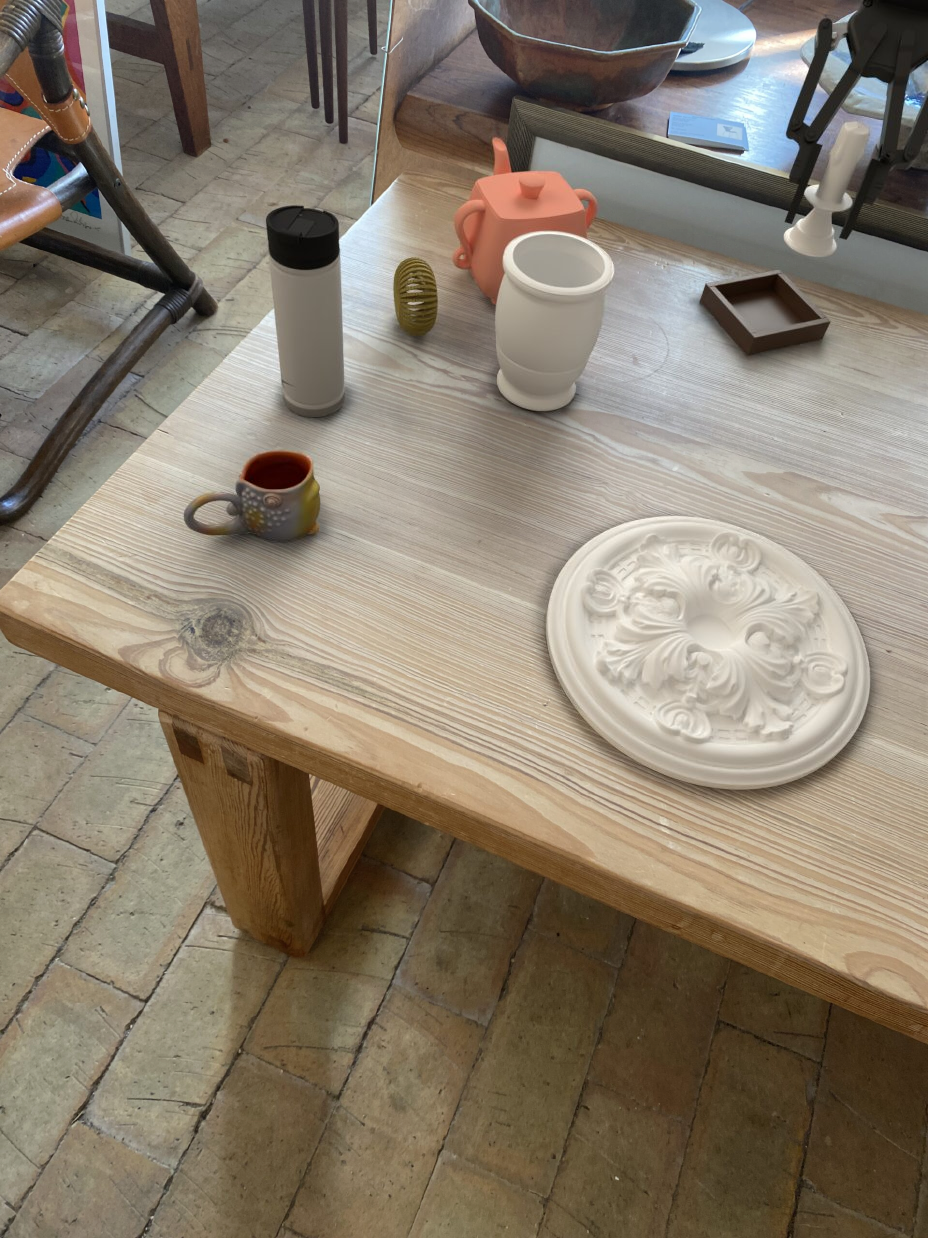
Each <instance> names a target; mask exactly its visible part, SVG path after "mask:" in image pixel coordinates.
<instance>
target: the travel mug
mask: <svg viewBox="0 0 928 1238" xmlns="http://www.w3.org/2000/svg"><path fill="white" fill-rule="evenodd" d="M265 226H266V237H267V242H268V243H267V245H268V249H267V251H268V252H267V253H268V263H269V272H270V281H271V291H272V301H273V303H272V304H273V312H274V322H275V332H276V341H277V342H276V343H277V352H278V360H279V372H280V380H281V390H282V391H281V392H282V399H283V402H284V404H285V406H286V407H287V408H288V409H289V410H290V411H292V412H293V413H295V414H297V415H299V416H303V417H307V418H320V417H321V418H322V417H326V416H329V415H332V414H334V413H335V412H337V411H338V410H339V409H340V408H341V407H342V405H343V404H344V402H345V399H346V398H345V397H346V391H345V389H346V387H345V361H344V357H345V355H344V329H343V328H344V325H343V296H342V293H343V292H342V263H341V261H342V260H341V259H342V258H341V247H340V222H339V219H338V218H337V217H336V215H334V214H333V213H332V212H329V211H327V210H320V209H316V208H309V207H305V206H304V205H299V204H297V205H296V204H293V205H284V206H281V207H277V208H275V209H273V210H271V211H270V212H268V214H267V215H266V217H265Z"/></svg>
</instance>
